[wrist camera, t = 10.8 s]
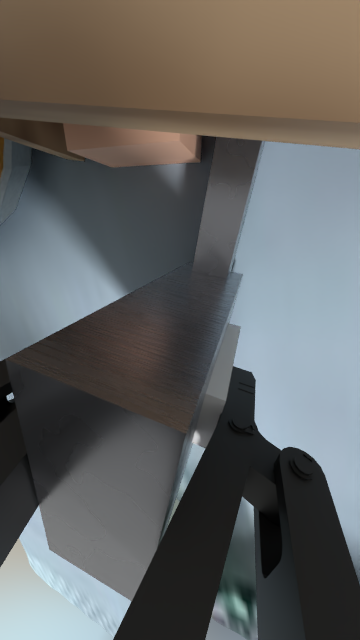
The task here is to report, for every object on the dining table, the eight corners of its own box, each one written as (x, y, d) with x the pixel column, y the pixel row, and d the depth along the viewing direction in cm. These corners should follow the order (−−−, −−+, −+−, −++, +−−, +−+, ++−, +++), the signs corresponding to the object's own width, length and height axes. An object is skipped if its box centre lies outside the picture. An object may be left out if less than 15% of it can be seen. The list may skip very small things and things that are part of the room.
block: (200, 162, 13) (179, 140, 10) (112, 167, 15) (67, 150, 11) (207, 12, 11) (182, -91, 7) (101, 39, 12) (39, -34, 9)
